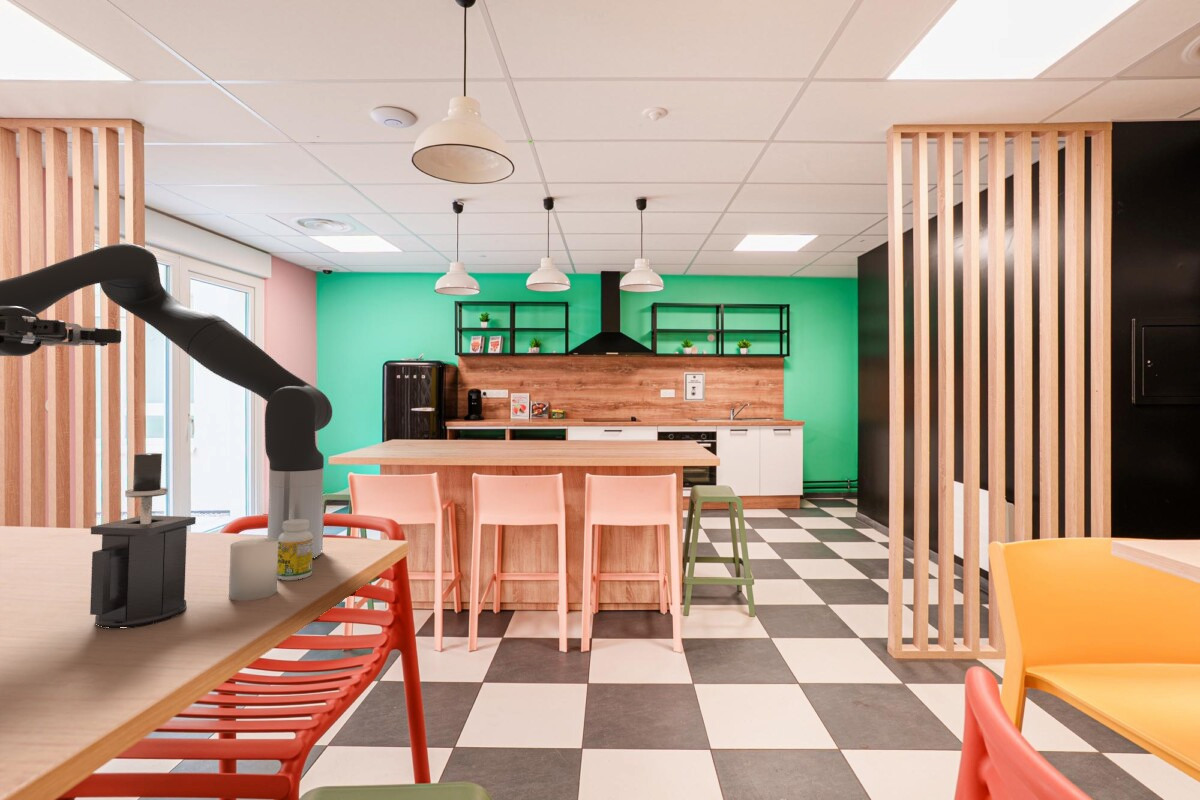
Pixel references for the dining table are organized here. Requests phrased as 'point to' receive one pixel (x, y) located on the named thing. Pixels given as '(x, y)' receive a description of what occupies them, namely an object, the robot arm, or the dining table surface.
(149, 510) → the plunger
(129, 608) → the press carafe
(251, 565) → the white rounded cylinder
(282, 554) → the supplement bottle
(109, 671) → the dining table surface
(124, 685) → the dining table surface
